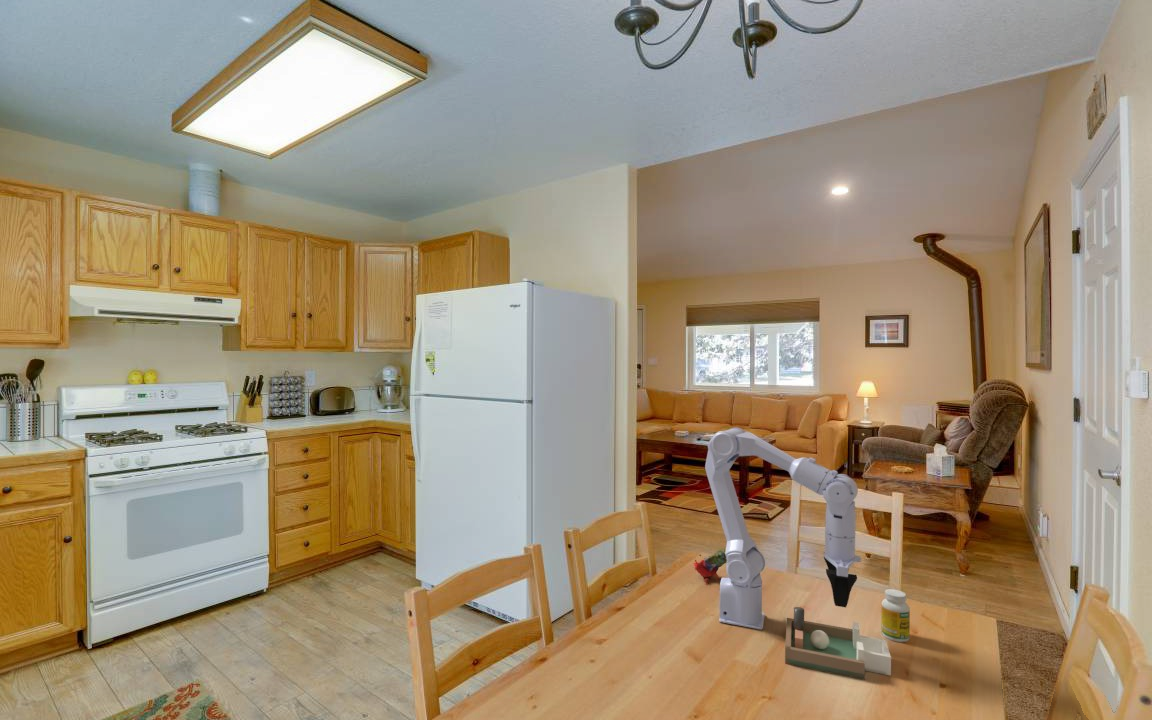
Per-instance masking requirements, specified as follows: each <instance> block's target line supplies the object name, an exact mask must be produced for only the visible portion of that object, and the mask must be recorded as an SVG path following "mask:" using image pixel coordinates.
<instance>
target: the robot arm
mask: <svg viewBox="0 0 1152 720" xmlns="http://www.w3.org/2000/svg"><path fill="white" fill-rule="evenodd" d="M706 445H707V455H706V459H705V465H704V468H705V473H706V476H707V480H708V483H709V487H710V490H711V493H712V496H713V499H714V502H715V506H716V510H717V513H718V517H719V520H720V522H721V526H722V529H723V533H724V537H725V539H726V547H725V549H726V551H725V555H726V559H727V563H726V566H725V572H726V574H727V577H725V578H724V576H723V577H720V578H721V579H720V583H719V605H718V609H719V617H718V618H719V619H718V621H719V622H720V623H723V624H730V625H733V626H740V627H746V628H749V629H755V630H763V629H764V623H765V613H764V612H763V580H762V577H761V573H762V572H763V571H764V569H765V567H766V559H765V557H764V555H763V553H762V551H760V550H759V548H758V546H757V544H756V541H755V540H754V539H753V538H752V537H751V536H750V533H749V531H748V527H747V524H746V520H745V517H744V514H743V511H742V508H741V504H740V502H739V498H738V496H737V495H738V494H737V492H736V488H735V485H734V482H733V478H732V476H731V472H730V470H731V468H732V466H733V464H734V463H735V461H736V460H737V459H738V457H747V456H748V457H749V456H751V457H752V456H755V457H758V458H760V459H762V460H764V461H766V462H768V463H769V464H772V465H774V466H776V467H779V468H780V469H783V470H784V471H787V472H788V474H789V475H790V478H791V480H792V481H794V482H795V483H797V484H799V485H801V486H802V487H805V488H806V489H808V490H811V492H814V493H815V494H817V495H819V496H823V499H824V501H825V502H826V503H825V504H826V509H825V521H824V522H825V523H824V524H825V530H824V552H823V560H824V561H825V564H826V566H827V568H826V569H825V573H826V575H827V578H828V580H829V583H830V587H831V591H832V597H833V603H834V606H836V607H840V608H847V606H848V603H849V599H850V595H851V591H852V589H853V586H854V584H855V583H857V580H858V576H857V574H853V573H849V570H850V568H851V567H852V566H853V565H854V564H855V563H862V557H861V556H859V555H856V524H857V523H856V521H857V520H856V519H857V517H856V516H857V515H856V501H854V500H855V499H856V497H857V496H858V490H859V488H858V484H857V482H856V481H855V480H854V479H853V478H852V477H850V476H849V475H848V474H844V473H839V472H838V471H837V470H835V469H832V470H831V469H828V468H826V467H825V466H823V465H820V464H819V463H817V459H816V458H813V457H809V458H808V457H805V456H803V457H799V458H795V457H793V456H791V455H790V454H788V453H787V452H785V451H783V450H781V449H779V448H777V447H776V446H774V445H773V444H771V443H769V442H768V441H766V440H764V439H762V438H760V437H759V436H757V435H756V434H754V433H752V432H751V431H750V432H749V431H746V430H744V429H742V428H740V427H732V428H730V429H727V430H721V431H717V432H715V434H714V435H713V436H712V437H711V438H710V440H709V441H708V442H707V444H706Z"/></svg>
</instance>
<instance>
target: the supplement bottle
mask: <svg viewBox="0 0 1152 720" xmlns="http://www.w3.org/2000/svg"><path fill="white" fill-rule="evenodd" d="M884 597H885V598H884V599H883V600H882V601H881V605H880V606H881V607H880V608H881V611H880V612H881V622H880V623H881V634H882V635H883V637H885V638H886V639H887V640H890V641H893V642H897V643H905V642H908V641H909V640H910V634H911V633H910V631H911V630H910V624H911V622H910V620H911V619H910V615H911V613H910V612H911V611H910V606H909V604H908V603H907V602H906V601H907V595H906V593H905V592H904V591H901V590H897V589H894V588H893V589H892V588H891V589H890V588H889V589H885V590H884Z"/></svg>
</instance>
